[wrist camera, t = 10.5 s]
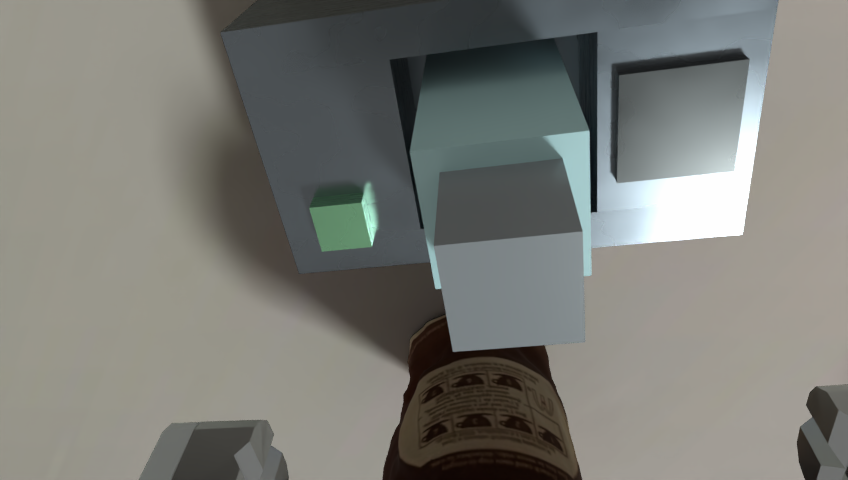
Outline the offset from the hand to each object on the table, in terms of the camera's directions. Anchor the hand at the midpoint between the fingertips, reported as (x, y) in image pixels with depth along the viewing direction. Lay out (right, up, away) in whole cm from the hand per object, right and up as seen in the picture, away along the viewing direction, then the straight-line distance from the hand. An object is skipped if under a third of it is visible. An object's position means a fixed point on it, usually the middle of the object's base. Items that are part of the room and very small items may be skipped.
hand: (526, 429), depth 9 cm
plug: (+1, +7, +11) cm, 14 cm away
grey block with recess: (+1, +8, +12) cm, 15 cm away
